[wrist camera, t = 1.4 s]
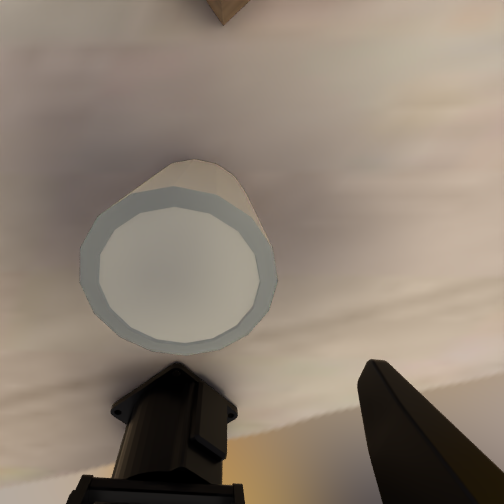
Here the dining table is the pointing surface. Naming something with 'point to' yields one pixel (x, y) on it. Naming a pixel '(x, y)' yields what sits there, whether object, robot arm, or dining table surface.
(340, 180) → the dining table surface
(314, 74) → the dining table surface
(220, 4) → the walnut plinth
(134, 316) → the shot glass
